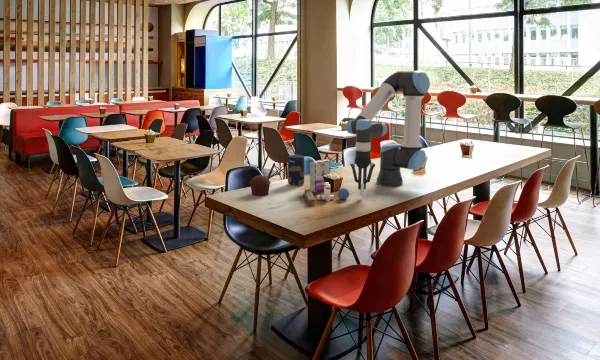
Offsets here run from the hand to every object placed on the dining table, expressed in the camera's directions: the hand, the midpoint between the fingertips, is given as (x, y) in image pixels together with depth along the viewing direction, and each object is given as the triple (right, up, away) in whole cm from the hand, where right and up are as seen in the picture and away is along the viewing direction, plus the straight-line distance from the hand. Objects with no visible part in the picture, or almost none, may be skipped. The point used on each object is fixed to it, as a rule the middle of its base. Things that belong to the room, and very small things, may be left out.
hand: (361, 195), depth 270 cm
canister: (-34, +5, +33) cm, 48 cm away
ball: (-10, +1, -1) cm, 10 cm away
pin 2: (-18, -3, -4) cm, 18 cm away
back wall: (-27, -2, -2) cm, 27 cm away
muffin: (-53, 0, +10) cm, 54 cm away
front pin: (-14, -1, -1) cm, 15 cm away
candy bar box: (-21, +2, +20) cm, 29 cm away
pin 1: (-18, -2, +1) cm, 18 cm away
